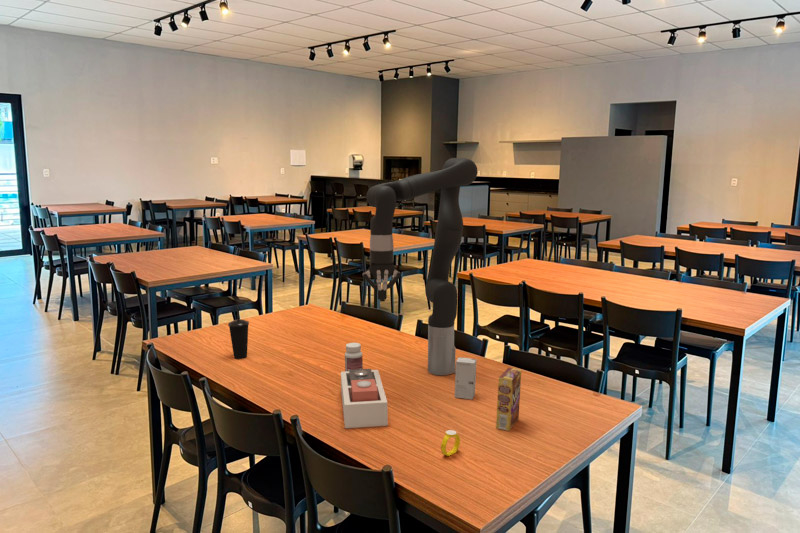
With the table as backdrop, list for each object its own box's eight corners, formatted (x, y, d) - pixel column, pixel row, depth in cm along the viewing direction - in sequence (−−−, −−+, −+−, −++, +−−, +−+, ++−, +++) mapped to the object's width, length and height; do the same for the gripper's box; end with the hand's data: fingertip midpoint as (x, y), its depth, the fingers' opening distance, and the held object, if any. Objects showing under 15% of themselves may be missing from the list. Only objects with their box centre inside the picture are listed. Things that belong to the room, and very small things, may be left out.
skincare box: (454, 397, 179) (454, 361, 177) (457, 392, 183) (457, 356, 181) (473, 400, 177) (474, 363, 175) (476, 394, 181) (476, 358, 179)
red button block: (374, 401, 170) (374, 377, 169) (377, 413, 161) (377, 388, 160) (351, 402, 169) (351, 378, 168) (353, 415, 161) (352, 390, 159)
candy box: (510, 432, 156) (512, 379, 153) (495, 428, 158) (497, 376, 155) (520, 419, 164) (521, 369, 161) (505, 416, 166) (507, 366, 163)
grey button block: (371, 389, 182) (370, 366, 181) (373, 400, 174) (373, 377, 172) (349, 390, 181) (348, 367, 180) (350, 401, 173) (350, 378, 171)
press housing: (378, 390, 185) (377, 369, 184) (387, 425, 160) (387, 402, 159) (341, 392, 184) (340, 371, 182) (345, 428, 158) (344, 404, 157)
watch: (453, 449, 147) (454, 427, 147) (461, 452, 145) (463, 430, 145) (438, 455, 143) (439, 433, 142) (446, 459, 141) (448, 437, 140)
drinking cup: (225, 359, 215) (222, 308, 212) (238, 353, 222) (235, 303, 219) (242, 361, 213) (239, 310, 209) (254, 355, 220) (252, 305, 216)
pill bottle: (366, 376, 197) (365, 345, 195) (350, 380, 194) (349, 348, 192) (357, 371, 202) (356, 341, 200) (342, 374, 199) (341, 344, 197)
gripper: (400, 246, 186) (400, 297, 189) (360, 247, 184) (360, 299, 187) (403, 249, 179) (403, 302, 182) (361, 250, 177) (362, 304, 180)
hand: (382, 300), depth 184 cm, fingers closed
